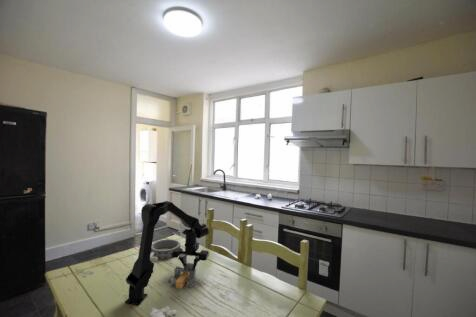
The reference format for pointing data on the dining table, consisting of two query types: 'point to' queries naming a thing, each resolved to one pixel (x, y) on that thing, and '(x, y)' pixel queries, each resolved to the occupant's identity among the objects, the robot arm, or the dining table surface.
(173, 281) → the frame
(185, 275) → the plug
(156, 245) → the grey round bowl
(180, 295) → the dining table surface
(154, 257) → the pipe connector
